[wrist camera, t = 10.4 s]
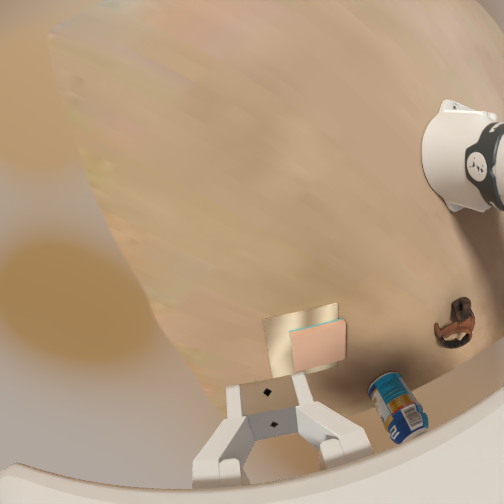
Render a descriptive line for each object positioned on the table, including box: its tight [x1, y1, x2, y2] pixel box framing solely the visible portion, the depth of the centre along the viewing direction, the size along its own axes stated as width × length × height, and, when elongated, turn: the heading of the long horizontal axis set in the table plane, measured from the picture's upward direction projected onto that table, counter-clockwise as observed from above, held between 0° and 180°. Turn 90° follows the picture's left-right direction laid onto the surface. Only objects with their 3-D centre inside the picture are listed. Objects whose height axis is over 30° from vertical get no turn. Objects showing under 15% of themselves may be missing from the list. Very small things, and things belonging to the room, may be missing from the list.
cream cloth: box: [262, 303, 338, 378], centre depth 46 cm, size 12×14×1 cm
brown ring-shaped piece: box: [434, 297, 475, 348], centre depth 47 cm, size 12×10×8 cm
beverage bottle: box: [368, 372, 429, 444], centre depth 44 cm, size 8×8×20 cm
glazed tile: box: [289, 318, 346, 372], centre depth 45 cm, size 2×8×9 cm
